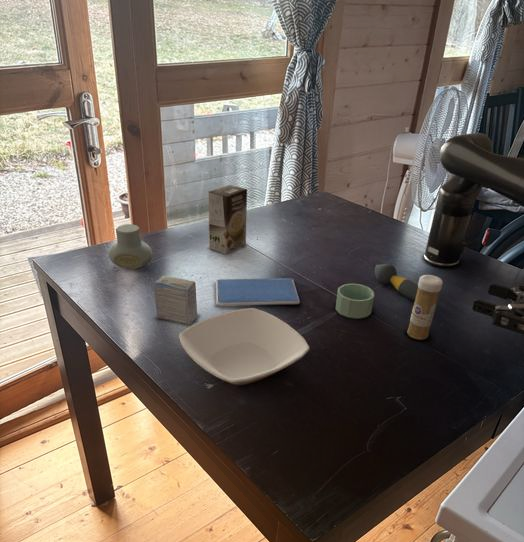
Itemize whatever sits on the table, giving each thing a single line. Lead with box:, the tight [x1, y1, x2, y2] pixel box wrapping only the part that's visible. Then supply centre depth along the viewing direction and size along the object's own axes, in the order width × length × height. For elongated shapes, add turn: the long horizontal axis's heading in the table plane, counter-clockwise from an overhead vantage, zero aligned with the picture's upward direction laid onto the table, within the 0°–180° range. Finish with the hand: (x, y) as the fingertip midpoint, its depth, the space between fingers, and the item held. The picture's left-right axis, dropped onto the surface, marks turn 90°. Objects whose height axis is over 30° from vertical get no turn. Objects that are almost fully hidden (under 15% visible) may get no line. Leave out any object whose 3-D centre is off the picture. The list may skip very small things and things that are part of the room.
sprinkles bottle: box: [406, 274, 444, 341], centre depth 107 cm, size 5×5×13 cm
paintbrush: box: [374, 263, 418, 302], centre depth 126 cm, size 20×5×5 cm, turn 38°
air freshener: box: [108, 223, 153, 271], centre depth 131 cm, size 11×8×10 cm
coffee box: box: [208, 184, 248, 255], centre depth 141 cm, size 9×6×16 cm
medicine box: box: [153, 275, 198, 325], centre depth 111 cm, size 8×4×9 cm, turn 71°
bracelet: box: [335, 283, 375, 320], centre depth 118 cm, size 8×8×4 cm
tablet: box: [215, 277, 301, 307], centre depth 123 cm, size 19×13×1 cm, turn 95°
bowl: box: [178, 307, 310, 386], centre depth 99 cm, size 22×22×5 cm
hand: (481, 295), depth 97 cm, fingers open, 8 cm apart
